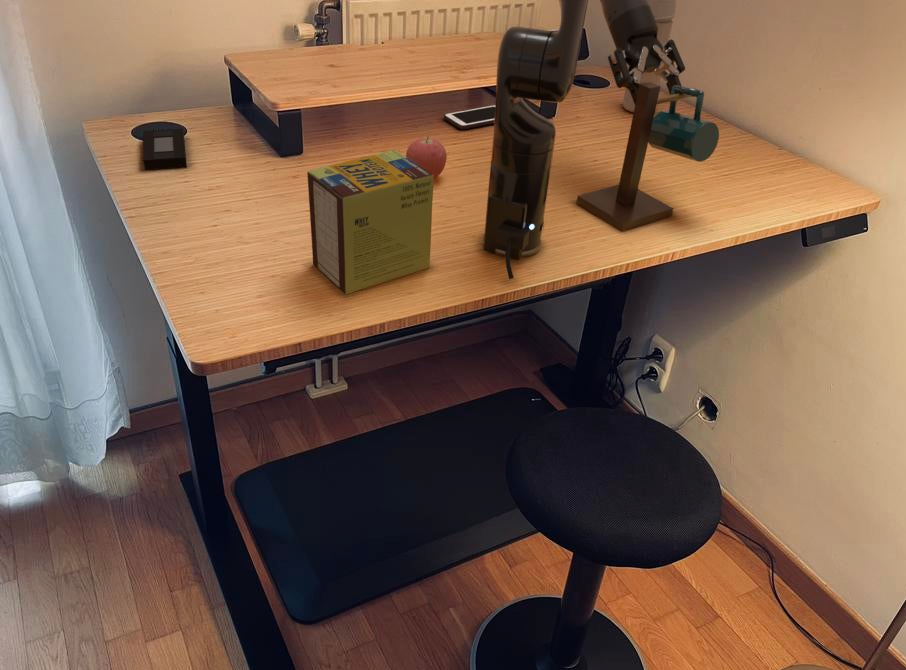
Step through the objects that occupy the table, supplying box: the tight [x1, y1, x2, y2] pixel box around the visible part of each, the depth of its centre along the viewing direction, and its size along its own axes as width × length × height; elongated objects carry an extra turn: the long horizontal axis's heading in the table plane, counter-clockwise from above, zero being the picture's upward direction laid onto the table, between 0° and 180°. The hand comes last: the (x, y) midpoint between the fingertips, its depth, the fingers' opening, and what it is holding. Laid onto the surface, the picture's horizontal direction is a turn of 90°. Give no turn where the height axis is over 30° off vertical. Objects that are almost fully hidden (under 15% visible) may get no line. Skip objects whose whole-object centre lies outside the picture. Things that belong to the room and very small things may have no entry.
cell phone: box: [443, 104, 496, 130], centre depth 172 cm, size 8×15×1 cm, turn 121°
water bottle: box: [621, 0, 677, 114], centre depth 174 cm, size 9×8×25 cm
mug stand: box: [575, 82, 698, 232], centre depth 135 cm, size 18×12×22 cm
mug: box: [648, 85, 720, 163], centre depth 133 cm, size 11×6×10 cm
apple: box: [405, 135, 448, 179], centre depth 145 cm, size 7×7×8 cm
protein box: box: [307, 149, 435, 295], centre depth 117 cm, size 10×15×16 cm
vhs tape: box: [142, 128, 188, 171], centre depth 151 cm, size 8×14×2 cm, turn 16°
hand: (661, 103), depth 136 cm, fingers open, 8 cm apart
